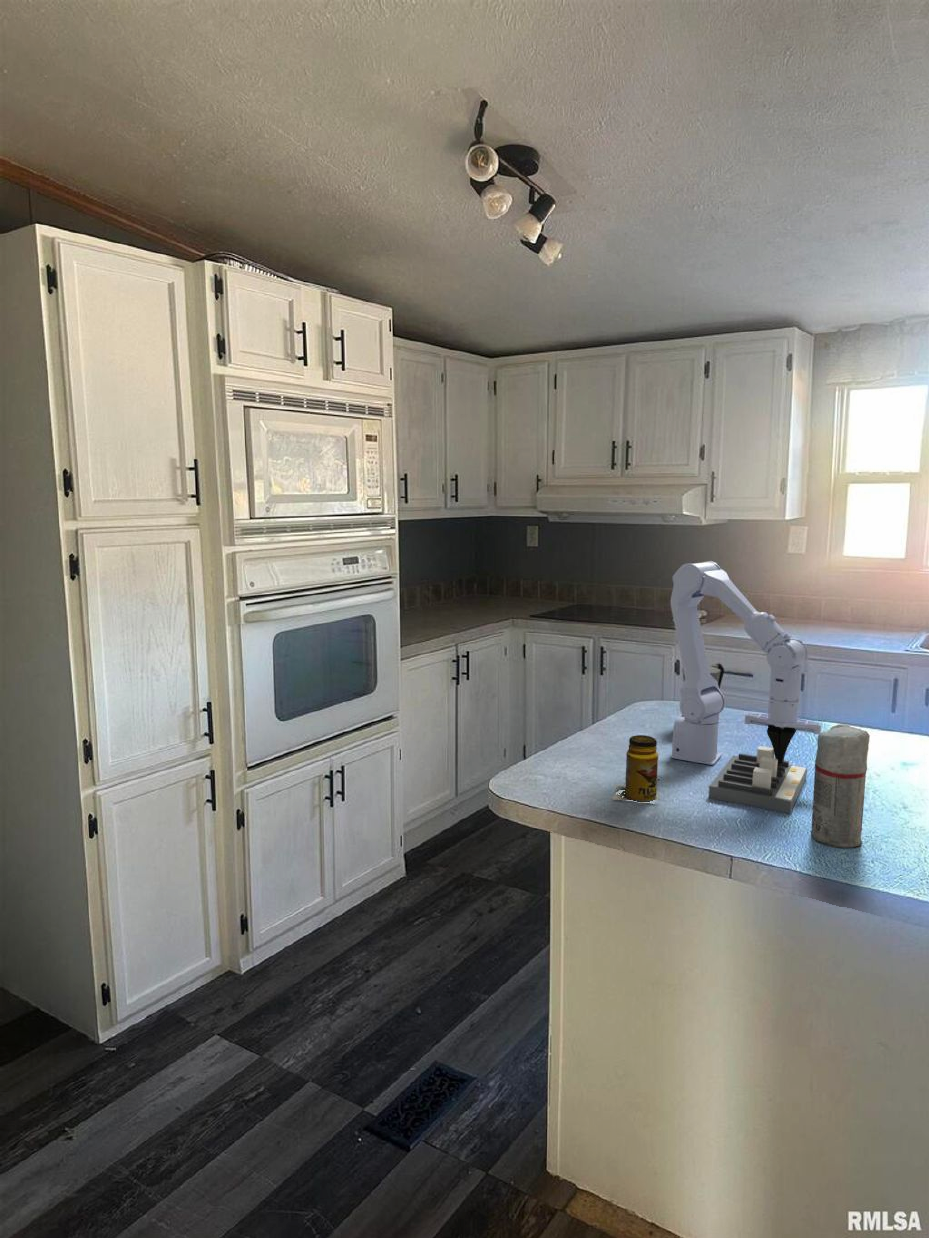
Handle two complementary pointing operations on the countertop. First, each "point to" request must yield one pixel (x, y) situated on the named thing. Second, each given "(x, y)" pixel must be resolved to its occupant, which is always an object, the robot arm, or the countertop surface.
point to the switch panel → (739, 789)
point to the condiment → (640, 771)
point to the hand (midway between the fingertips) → (779, 761)
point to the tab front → (762, 778)
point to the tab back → (764, 753)
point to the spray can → (840, 786)
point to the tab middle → (769, 765)
